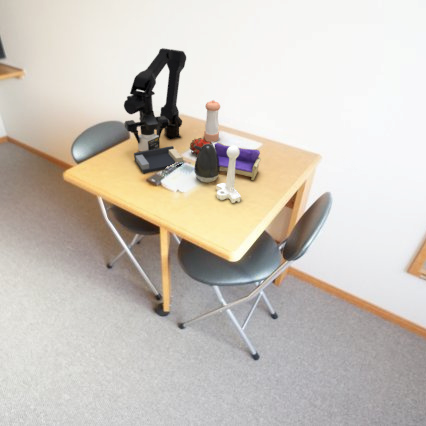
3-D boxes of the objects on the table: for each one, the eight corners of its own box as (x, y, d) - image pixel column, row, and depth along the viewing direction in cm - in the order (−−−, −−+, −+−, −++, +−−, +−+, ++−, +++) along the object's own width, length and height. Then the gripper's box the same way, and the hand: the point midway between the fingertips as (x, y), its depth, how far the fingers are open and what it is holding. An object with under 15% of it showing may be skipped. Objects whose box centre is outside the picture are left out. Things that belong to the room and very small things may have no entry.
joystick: (242, 200, 118) (249, 151, 106) (226, 206, 115) (230, 156, 102) (225, 186, 125) (229, 138, 113) (209, 191, 122) (211, 143, 110)
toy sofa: (206, 171, 134) (206, 148, 128) (212, 162, 141) (214, 140, 135) (254, 181, 129) (257, 159, 123) (259, 171, 136) (262, 149, 129)
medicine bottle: (149, 155, 143) (146, 130, 136) (138, 150, 147) (135, 125, 139) (160, 150, 148) (158, 125, 141) (149, 145, 151) (147, 121, 144)
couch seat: (173, 153, 146) (172, 145, 144) (183, 165, 138) (183, 157, 135) (134, 161, 139) (133, 152, 137) (143, 173, 131) (142, 165, 128)
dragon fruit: (187, 158, 146) (210, 157, 151) (194, 155, 138) (218, 154, 144) (184, 140, 146) (207, 139, 151) (192, 135, 138) (216, 135, 144)
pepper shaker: (205, 135, 164) (206, 97, 152) (219, 136, 163) (221, 98, 152) (203, 141, 158) (204, 102, 147) (217, 142, 158) (220, 103, 146)
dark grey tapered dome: (194, 172, 133) (195, 137, 124) (219, 173, 133) (222, 139, 124) (192, 184, 125) (192, 149, 116) (218, 186, 125) (221, 151, 116)
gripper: (129, 116, 126) (133, 152, 135) (173, 110, 133) (174, 145, 143) (122, 107, 134) (126, 142, 143) (163, 102, 141) (165, 135, 150)
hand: (148, 141), depth 145 cm, fingers closed on medicine bottle, 9 cm apart
